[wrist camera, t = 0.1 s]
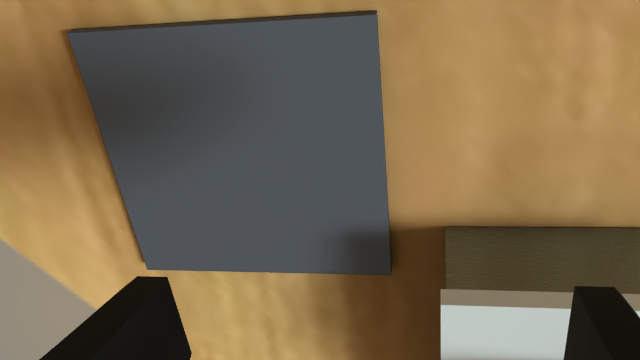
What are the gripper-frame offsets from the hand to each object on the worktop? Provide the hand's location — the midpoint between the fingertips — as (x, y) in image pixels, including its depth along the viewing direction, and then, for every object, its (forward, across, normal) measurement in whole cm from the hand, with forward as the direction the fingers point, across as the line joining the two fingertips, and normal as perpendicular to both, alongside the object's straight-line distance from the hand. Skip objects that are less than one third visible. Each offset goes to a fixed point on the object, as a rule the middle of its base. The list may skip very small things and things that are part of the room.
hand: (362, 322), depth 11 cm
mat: (+10, +5, +2) cm, 12 cm away
